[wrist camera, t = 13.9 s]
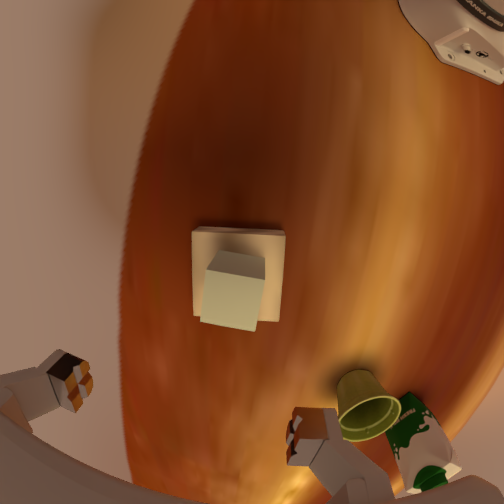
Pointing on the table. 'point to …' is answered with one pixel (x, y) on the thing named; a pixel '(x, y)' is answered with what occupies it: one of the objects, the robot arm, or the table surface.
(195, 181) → the table surface
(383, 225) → the table surface
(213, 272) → the sage block
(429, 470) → the milk carton
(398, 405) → the plant pot
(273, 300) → the birch block
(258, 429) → the table surface
